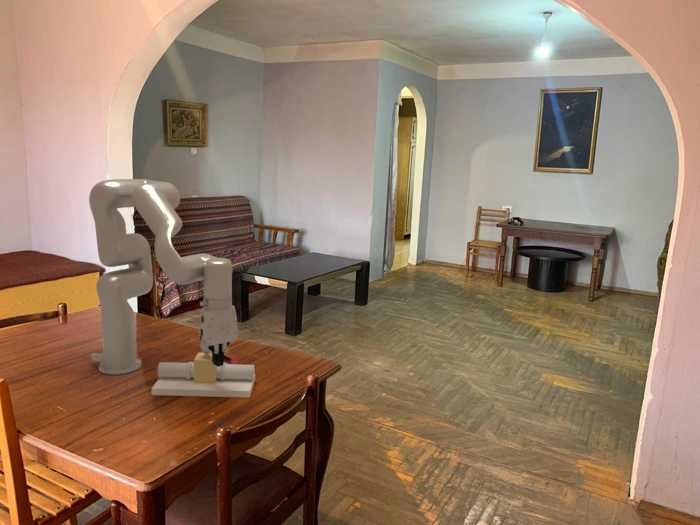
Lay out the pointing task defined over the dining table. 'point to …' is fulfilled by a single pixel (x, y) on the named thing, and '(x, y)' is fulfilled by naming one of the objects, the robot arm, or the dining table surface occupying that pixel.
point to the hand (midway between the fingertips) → (218, 364)
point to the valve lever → (225, 356)
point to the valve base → (203, 388)
